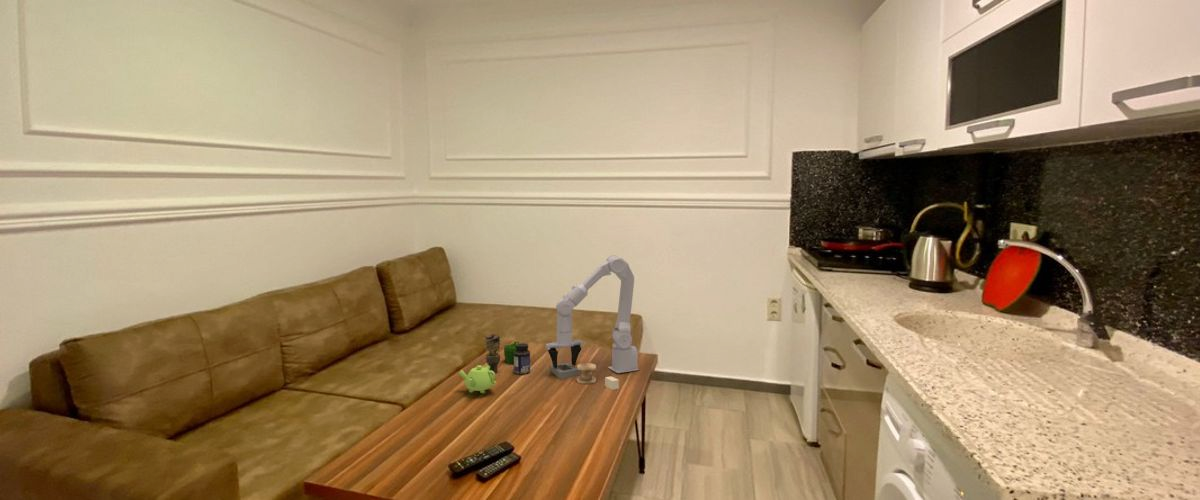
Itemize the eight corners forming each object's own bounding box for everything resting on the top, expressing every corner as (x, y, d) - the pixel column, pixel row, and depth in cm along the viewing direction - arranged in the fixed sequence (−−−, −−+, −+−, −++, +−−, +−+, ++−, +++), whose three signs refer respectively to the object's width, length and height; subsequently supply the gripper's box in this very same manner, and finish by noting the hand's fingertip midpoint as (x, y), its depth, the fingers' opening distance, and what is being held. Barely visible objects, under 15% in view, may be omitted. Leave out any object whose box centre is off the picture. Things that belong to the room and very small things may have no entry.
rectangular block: (610, 385, 184) (610, 376, 183) (618, 388, 180) (618, 379, 179) (604, 386, 182) (604, 377, 182) (612, 390, 178) (612, 381, 178)
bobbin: (590, 376, 192) (590, 362, 192) (599, 382, 186) (599, 367, 186) (573, 379, 189) (573, 364, 188) (582, 385, 183) (582, 369, 182)
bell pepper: (501, 363, 209) (501, 338, 208) (521, 360, 212) (521, 336, 212) (507, 368, 201) (507, 343, 201) (527, 366, 205) (527, 341, 204)
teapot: (501, 391, 175) (501, 367, 175) (468, 398, 169) (468, 372, 169) (489, 382, 185) (489, 359, 184) (457, 388, 179) (457, 364, 178)
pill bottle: (531, 371, 199) (531, 342, 198) (528, 375, 193) (528, 347, 192) (516, 370, 199) (516, 342, 198) (512, 375, 193) (512, 346, 192)
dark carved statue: (482, 373, 195) (481, 334, 194) (491, 370, 199) (491, 331, 198) (493, 376, 192) (493, 336, 191) (503, 372, 197) (503, 333, 196)
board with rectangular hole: (568, 369, 202) (568, 362, 201) (579, 376, 193) (579, 369, 192) (549, 371, 198) (549, 365, 198) (560, 379, 189) (560, 372, 189)
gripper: (577, 326, 201) (577, 361, 202) (542, 330, 194) (542, 365, 195) (585, 330, 195) (585, 365, 196) (549, 334, 188) (549, 370, 189)
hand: (564, 366), depth 195 cm, fingers open, 7 cm apart
